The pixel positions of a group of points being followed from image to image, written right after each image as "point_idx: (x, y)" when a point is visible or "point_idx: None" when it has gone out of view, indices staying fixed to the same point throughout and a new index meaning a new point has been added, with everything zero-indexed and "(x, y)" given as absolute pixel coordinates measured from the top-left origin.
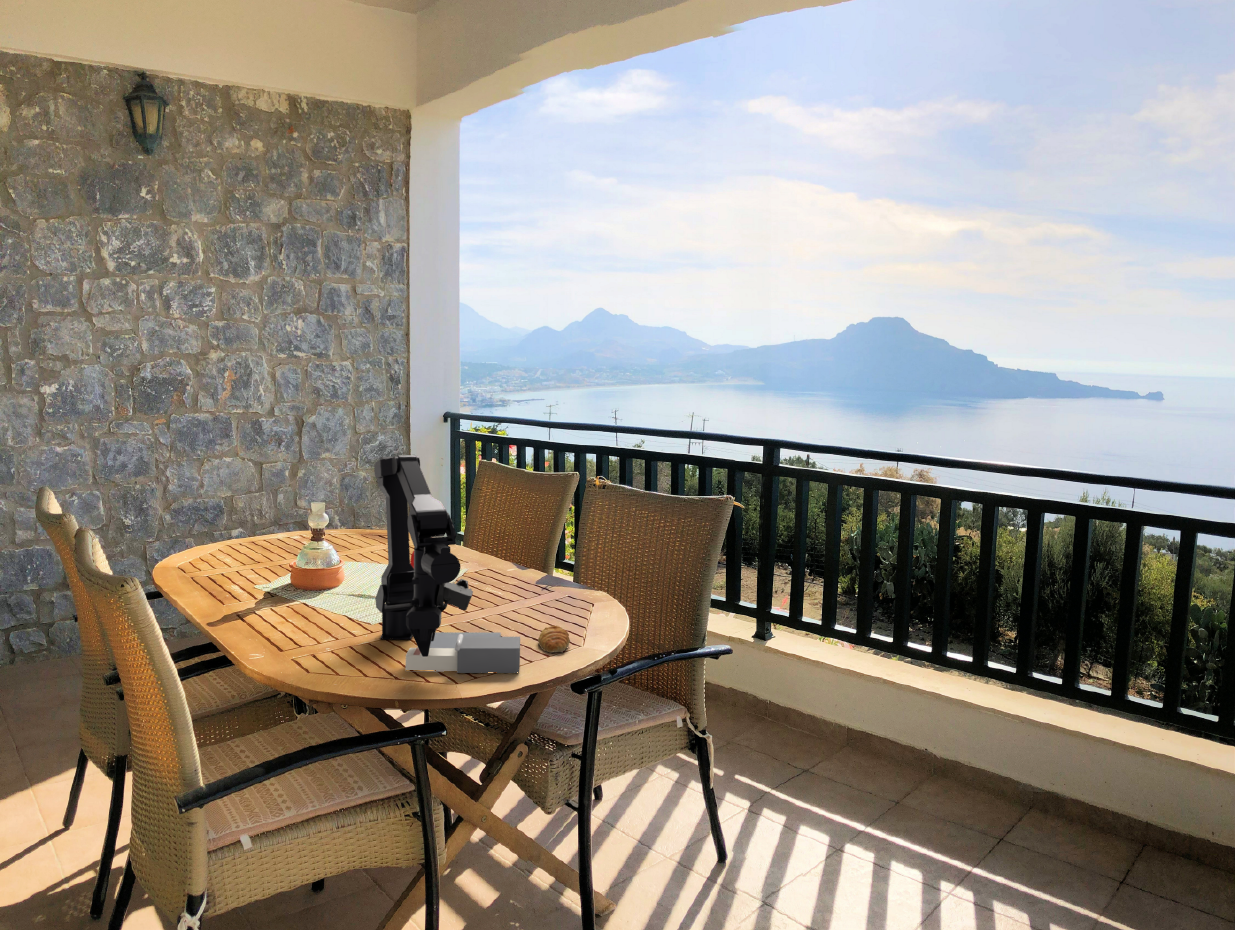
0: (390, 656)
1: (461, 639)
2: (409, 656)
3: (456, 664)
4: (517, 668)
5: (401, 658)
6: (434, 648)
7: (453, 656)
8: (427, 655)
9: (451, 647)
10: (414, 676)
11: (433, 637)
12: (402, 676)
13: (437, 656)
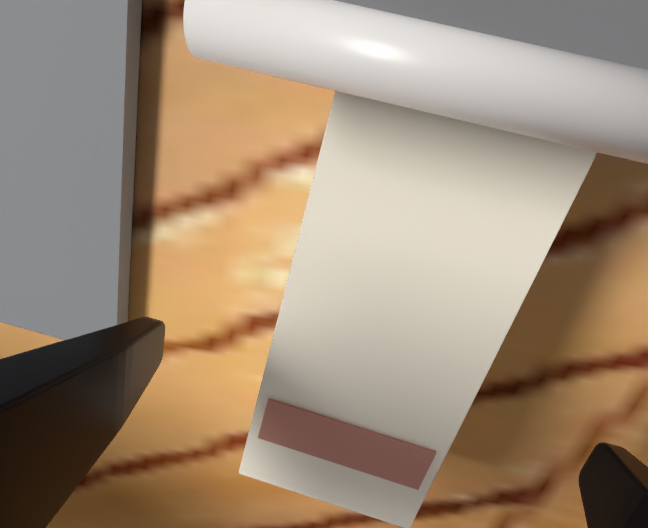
0: (149, 461)
1: (443, 31)
2: (418, 500)
3: None
4: None
5: (186, 420)
6: (292, 313)
7: (582, 169)
8: (625, 455)
9: (23, 95)
10: (529, 412)
11: (145, 338)
12: (500, 467)
13: (509, 319)
